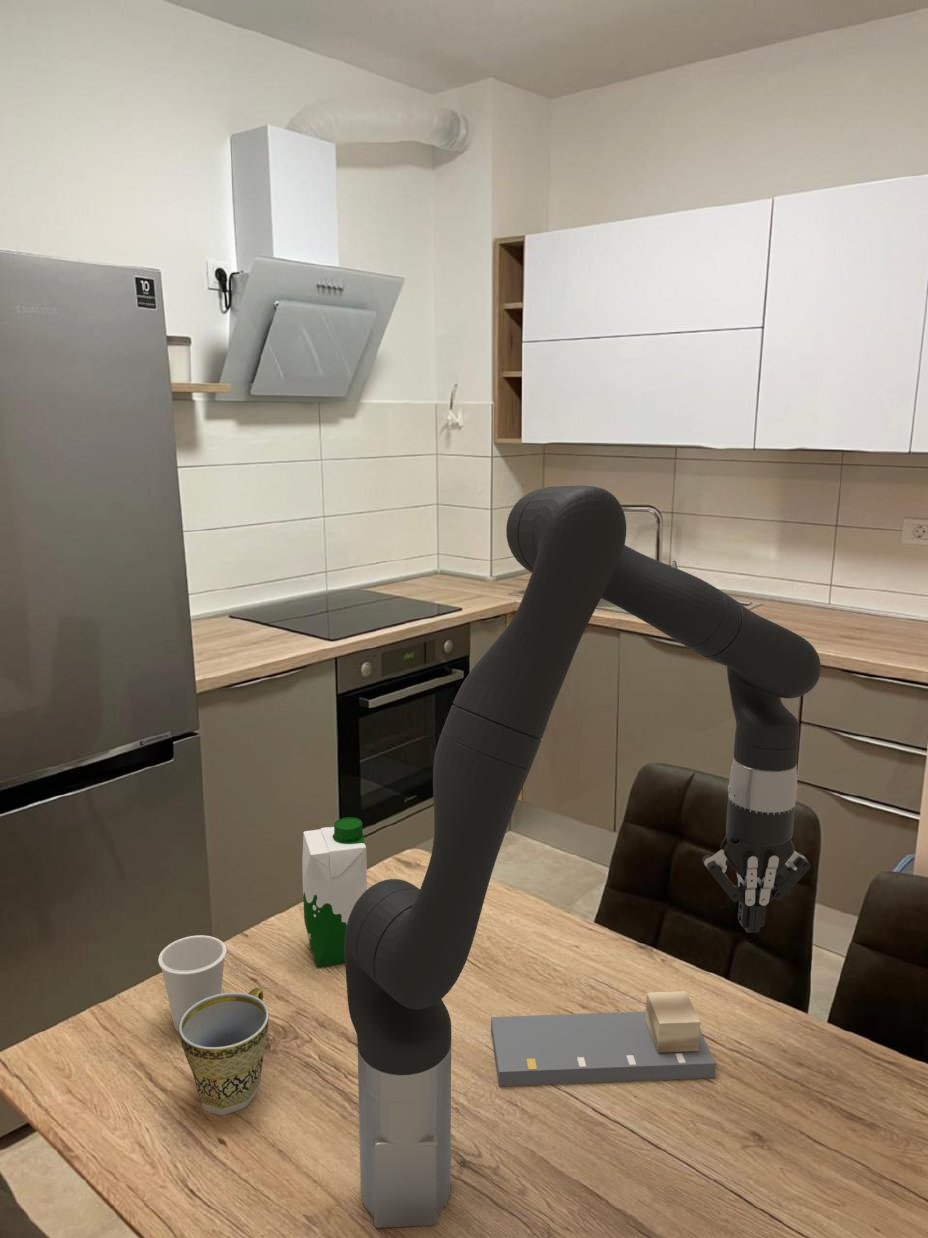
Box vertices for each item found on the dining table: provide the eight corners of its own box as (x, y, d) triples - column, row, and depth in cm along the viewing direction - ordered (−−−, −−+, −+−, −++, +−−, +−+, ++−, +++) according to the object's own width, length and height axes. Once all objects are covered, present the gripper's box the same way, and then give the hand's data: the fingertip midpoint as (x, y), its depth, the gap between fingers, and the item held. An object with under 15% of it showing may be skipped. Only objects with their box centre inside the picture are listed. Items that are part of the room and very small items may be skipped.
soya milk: (373, 962, 133) (370, 834, 129) (310, 973, 131) (305, 843, 126) (361, 930, 141) (358, 808, 137) (301, 939, 139) (297, 816, 134)
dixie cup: (168, 1050, 115) (163, 979, 113) (159, 1011, 122) (153, 944, 120) (236, 1031, 119) (232, 962, 116) (223, 994, 126) (219, 928, 124)
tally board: (714, 1077, 111) (715, 1062, 110) (498, 1086, 109) (499, 1071, 109) (689, 1023, 121) (690, 1009, 120) (490, 1030, 119) (491, 1016, 118)
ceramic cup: (242, 1136, 102) (237, 1057, 99) (165, 1113, 105) (159, 1037, 103) (300, 1059, 114) (297, 987, 111) (229, 1041, 117) (225, 970, 114)
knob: (698, 1051, 112) (700, 1022, 111) (657, 1052, 112) (659, 1023, 111) (683, 1019, 118) (685, 991, 117) (645, 1020, 118) (646, 992, 117)
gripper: (716, 811, 104) (707, 948, 108) (831, 808, 105) (817, 944, 109) (696, 784, 112) (687, 914, 116) (803, 782, 112) (791, 910, 116)
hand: (750, 928), depth 112 cm, fingers closed
